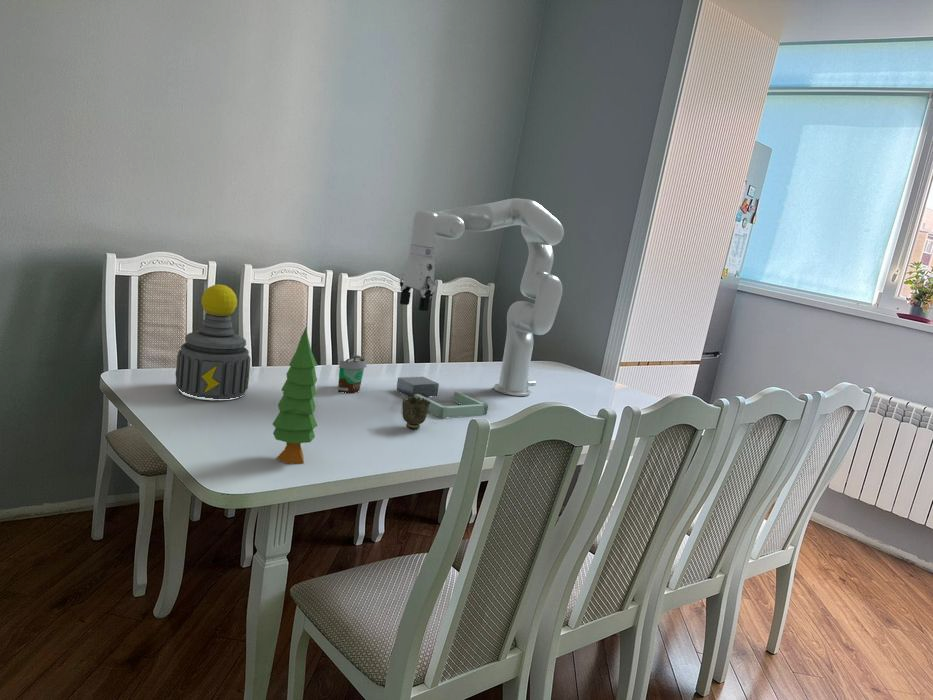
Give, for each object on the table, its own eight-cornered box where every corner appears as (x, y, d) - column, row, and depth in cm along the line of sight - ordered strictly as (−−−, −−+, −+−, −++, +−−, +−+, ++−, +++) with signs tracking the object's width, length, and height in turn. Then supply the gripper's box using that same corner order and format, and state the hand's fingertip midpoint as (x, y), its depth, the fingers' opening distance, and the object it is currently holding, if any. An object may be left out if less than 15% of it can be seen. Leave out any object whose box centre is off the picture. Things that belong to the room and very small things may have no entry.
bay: (456, 400, 232) (458, 391, 232) (486, 414, 222) (488, 405, 221) (413, 403, 221) (414, 394, 221) (442, 418, 211) (444, 408, 210)
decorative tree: (277, 467, 156) (292, 329, 150) (261, 452, 163) (275, 320, 158) (320, 463, 162) (335, 330, 156) (302, 449, 169) (317, 321, 164)
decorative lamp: (248, 386, 214) (257, 283, 208) (246, 404, 196) (256, 293, 190) (178, 380, 208) (187, 275, 203) (170, 399, 191) (179, 285, 185)
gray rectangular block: (421, 389, 241) (423, 376, 240) (437, 397, 234) (438, 383, 234) (396, 391, 234) (397, 377, 233) (411, 398, 228) (413, 384, 227)
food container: (355, 397, 219) (359, 364, 217) (335, 393, 220) (339, 360, 218) (368, 388, 231) (372, 357, 229) (350, 385, 232) (354, 354, 230)
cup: (412, 422, 202) (416, 394, 201) (431, 430, 198) (436, 402, 196) (393, 426, 196) (396, 397, 195) (412, 434, 192) (417, 405, 191)
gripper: (449, 257, 220) (440, 313, 223) (414, 249, 232) (406, 302, 235) (429, 255, 215) (421, 312, 218) (395, 247, 227) (387, 301, 230)
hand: (413, 307), depth 227 cm, fingers open, 9 cm apart
